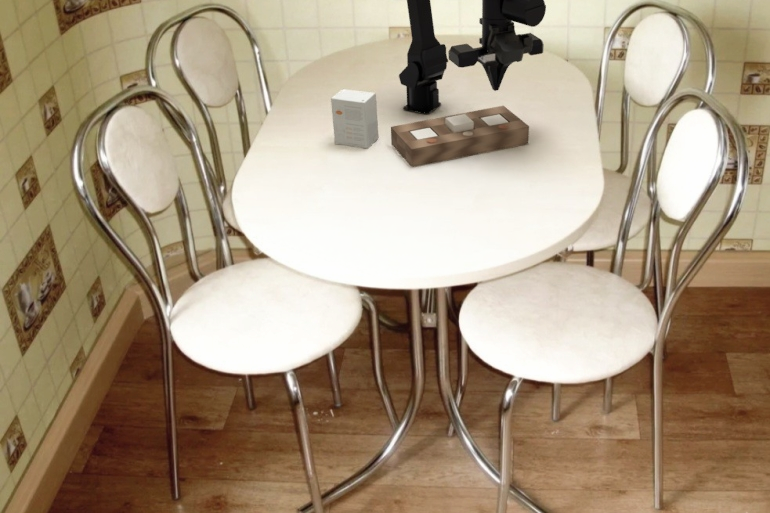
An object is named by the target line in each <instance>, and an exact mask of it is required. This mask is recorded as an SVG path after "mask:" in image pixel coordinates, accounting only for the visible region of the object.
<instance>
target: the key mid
mask: <svg viewBox="0 0 770 513" xmlns="http://www.w3.org/2000/svg"><path fill="white" fill-rule="evenodd" d="M445 121H446V127H447V128H448V129H449V130H450V131H451V132H452V133H457V132H462V131H467V130H472V129H474V122H473V121H472V120H471V119H470V118H469V117H468V116H466V115H465V114H463V115H457V116H452V117H447V118H445Z"/></svg>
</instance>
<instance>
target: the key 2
mask: <svg viewBox="0 0 770 513" xmlns="http://www.w3.org/2000/svg"><path fill="white" fill-rule="evenodd" d="M480 119H481V120H482V121H483V122H484V123H486V124H487V125H488V126H493V125H498V124H503V123H508V121H507V120H506V119H504V118H503V117H502V116H501V115H500V114H498V115H493V116H488V117H483V118H480Z"/></svg>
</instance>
